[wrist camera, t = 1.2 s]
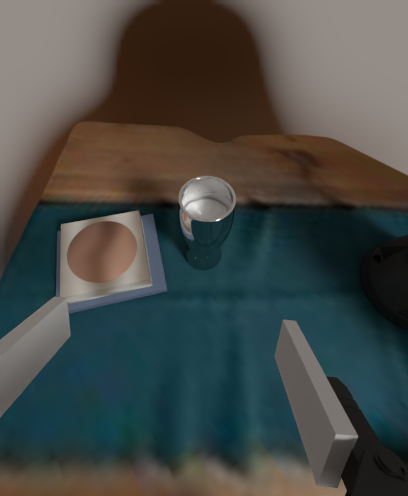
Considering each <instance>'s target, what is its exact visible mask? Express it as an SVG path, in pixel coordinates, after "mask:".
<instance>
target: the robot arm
mask: <svg viewBox="0 0 408 496" xmlns="http://www.w3.org/2000/svg"><path fill="white" fill-rule="evenodd" d="M361 280H362V284H363V287H364V290H365V292H366V294H367V296H368V297H369V299H370V301H371V302H372V303H373V305H374V306H375V307H376V308H377V309H378V310H379V312H380V313H382V314H383V315H384V316H385V317H386V318H387V319H389V320H390V321H392V322H393V323H395V324H396V325H398V326H400V327H402V328H404V329H407V330H408V235H406V236H402V237H397V238H393V239H389V240H386V241H384V242H382V243H380V244H379V245H377V246H376V247H374V248H373V249H371V250H370V251H369V252H368V253H367V254H366V255H365V257H364V259H363V261H362V264H361ZM69 337H70V325H69V314H68V304H67V298H63V297H53V298H52V299H51V300H50V301H48V302H47V303H46V304H45V305H43V306H42V307H41V308H40V309H38V310H37V311H36V312H35V313H33V314H32V315H31V316H30V317H28V318H27V319H26V320H24V321H23V322H22V323H21V324H19V325H18V326H17V327H16V328H14V329H13V330H12V331H11V332H9V333H8V334H7V335H6V336H4V337H3V338H2V339H1V340H0V417H1V416H2V415H3V414H4V413H5V411H6V410H7V409H8V408H9V407H10V406H11V404H12V403H13V402H14V401H15V400H16V399H17V398H18V396H19V395H20V394H21V393H22V392H23V391H24V389H25V388H26V387H27V386H28V385H29V384H30V382H31V381H32V380H33V379H34V378H35V377H36V375H37V374H38V373H39V372H40V371H41V370H42V368H43V367H44V366H45V365H46V364H47V363H48V361H49V360H50V359H51V358H52V357H53V356H54V354H55V353H56V352H57V351H58V350H59V349H60V348H61V346H62V345H63V344H64V343H65V342H66V341H67V339H68V338H69ZM275 359H276V362H277V365H278V368H279V371H280V374H281V377H282V380H283V384H284V387H285V390H286V393H287V396H288V399H289V402H290V405H291V408H292V411H293V414H294V417H295V420H296V423H297V426H298V429H299V432H300V436H301V439H302V442H303V445H304V448H305V451H306V454H307V457H308V460H309V463H310V466H311V469H312V472H313V475H314V478H315V481H316V484H317V486H323V487H333V488H337V487H338V485H339V482H340V480H341V478H342V480H343V482H344V485H345V487H346V489H347V492H346V495H345V496H408V467H407V466H406V464H405V463H404V462H403V461H402V460H401V459H400V458H399V456H397V455H396V454H395V453H394V452H392V451H391V450H390V449H388V448H386V447H384V446H383V445H382V444H381V442H380V441H379V439H378V438H377V436H376V434H375V433H374V431H373V429H372V428H371V426H370V424H369V423H368V421H367V420H366V418H365V416H364V415H363V413H362V411H361V410H360V409H359V406H358V405H357V403H356V402H355V400H353V397H352V395H351V393H350V392H349V390H348V389H347V387H346V386H345V385H344V384H343V383H342V382H341V381H340V380H339V379H338V378H335V377H326V376H325V374H324V372H323V370H322V368H321V367H320V365H319V363H318V361H317V359H316V357H315V356H314V354H313V352H312V350H311V348H310V346H309V344H308V343H307V341H306V339H305V337H304V335H303V333H302V332H301V330H300V328H299V326H298V324H297V322H296V321H291V320H283V322H282V326H281V331H280V335H279V340H278V344H277V349H276V353H275Z"/></svg>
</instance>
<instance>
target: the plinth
mask: <svg viewBox="0 0 408 496" xmlns="http://www.w3.org/2000/svg"><path fill="white" fill-rule="evenodd" d="M148 286H153V285H152V279H151V273H150V266H149V260H148V254H147V247H146V241H145V235H144V229H143V222H142V219H141V216H140V213H139V211H133V212H127V213H122V214H116V215H111V216H105V217H99V218H94V219H88V220H83V221H77V222H71V223H66V224H61V254H60V297H63V298H67V302H68V303H69V304H72V303H76V302H81V301H85V300H90V299H94V298H99V297H103V296H108V295H112V294H117V293H121V292H126V291H130V290H135V289H139V288H144V287H148Z"/></svg>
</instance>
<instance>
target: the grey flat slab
mask: <svg viewBox="0 0 408 496" xmlns="http://www.w3.org/2000/svg"><path fill="white" fill-rule="evenodd" d="M141 219H142V222H143V229H144V235H145V241H146V247H147V254H148V260H149V266H150V273H151V279H152V285H153V286H148V287H144V288H139V289H135V290H130V291H126V292H121V293H117V294H112V295H108V296H103V297H99V298H94V299H90V300H85V301H81V302H76V303H72V304H69V303H68V302H67V304H68V314H69V313H73V312H78V311H82V310H87V309H91V308H95V307H100V306H104V305H109V304H113V303H117V302H122V301H126V300H131V299H135V298H139V297H144V296H148V295H153V294H157V293H161V292H166V291H167V285H166V280H165V275H164V269H163V264H162V258H161V253H160V248H159V242H158V237H157V231H156V226H155V221H154V216H153V214H149V215H144V216H141ZM60 254H61V231H57V270H56V297H60Z"/></svg>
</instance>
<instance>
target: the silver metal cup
mask: <svg viewBox="0 0 408 496" xmlns="http://www.w3.org/2000/svg"><path fill="white" fill-rule="evenodd" d="M178 199H179V210H178V214H179V224H180V229H181V232H182V235H183V237H184V240H185V242H186V244H187V247H186V251H185V255H186V259H187V261H188V263H189V264H190V265H191V266H192V267H194V268H196V269H198V270H209V269H212V268H214V267H215V266H216V265H217V264H218V263H219V262H220V260H221V256H222V251H221V246H222V245H223V243H224V242H225V240H226V239H227V237H228V235H229V233H230V230H231V227H232V224H233V218H234V211H235V204H236V196H235V192H234V190H233V189H232V187H231V186H230V185H229V184H228V183H227V182H225V181H224V180H222V179H220V178H217V177H214V176H199V177H196V178H193V179H191V180H189V181H188V182H186V183H185V184H184V185H183V187H182V188H181V190H180V192H179V198H178Z"/></svg>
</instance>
